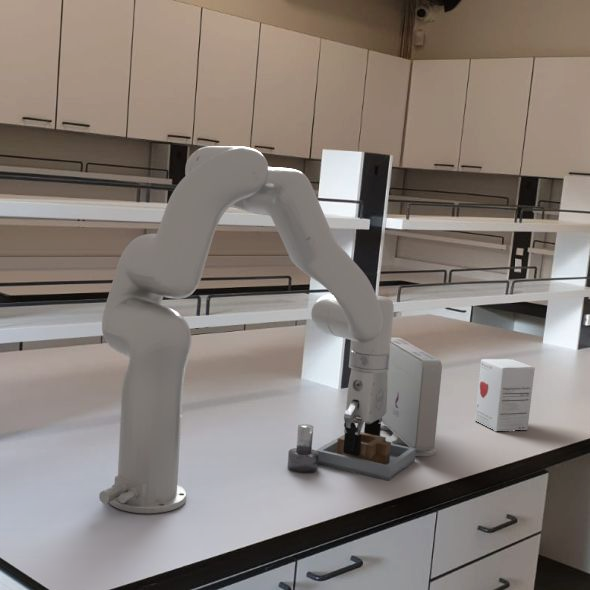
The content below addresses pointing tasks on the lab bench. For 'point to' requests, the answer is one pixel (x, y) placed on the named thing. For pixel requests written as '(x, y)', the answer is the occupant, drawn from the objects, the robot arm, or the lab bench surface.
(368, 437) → the collar
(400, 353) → the network device
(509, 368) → the supplement box
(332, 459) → the tray
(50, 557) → the lab bench surface
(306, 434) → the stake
